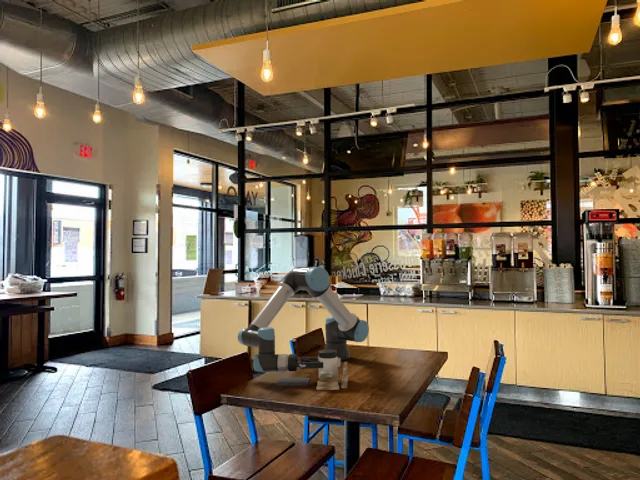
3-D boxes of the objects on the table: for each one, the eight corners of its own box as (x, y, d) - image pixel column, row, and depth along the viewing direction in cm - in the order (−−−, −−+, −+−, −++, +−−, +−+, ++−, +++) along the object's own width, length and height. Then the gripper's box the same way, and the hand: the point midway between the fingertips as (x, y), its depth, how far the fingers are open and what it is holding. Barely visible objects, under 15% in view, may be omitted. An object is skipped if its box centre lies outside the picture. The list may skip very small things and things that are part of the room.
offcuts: (317, 386, 200) (317, 373, 200) (318, 385, 203) (317, 371, 203) (337, 386, 199) (337, 373, 200) (338, 385, 202) (337, 371, 203)
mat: (275, 385, 208) (275, 384, 208) (279, 379, 219) (279, 377, 219) (307, 385, 206) (307, 384, 206) (310, 379, 218) (310, 377, 218)
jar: (340, 379, 207) (339, 351, 208) (322, 381, 205) (322, 353, 205) (334, 375, 216) (333, 348, 216) (316, 376, 213) (316, 349, 214)
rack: (316, 389, 200) (316, 370, 200) (319, 379, 217) (319, 361, 217) (346, 389, 199) (346, 370, 199) (347, 379, 216) (347, 361, 216)
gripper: (291, 366, 222) (341, 366, 220) (285, 375, 205) (339, 375, 203) (290, 350, 222) (340, 350, 220) (285, 358, 205) (339, 357, 203)
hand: (340, 362), depth 212 cm, fingers closed on jar, 4 cm apart
